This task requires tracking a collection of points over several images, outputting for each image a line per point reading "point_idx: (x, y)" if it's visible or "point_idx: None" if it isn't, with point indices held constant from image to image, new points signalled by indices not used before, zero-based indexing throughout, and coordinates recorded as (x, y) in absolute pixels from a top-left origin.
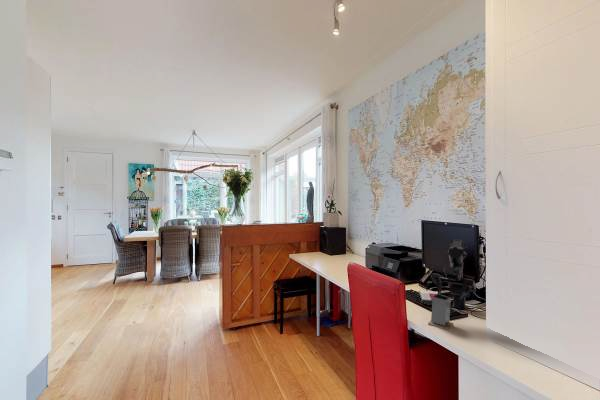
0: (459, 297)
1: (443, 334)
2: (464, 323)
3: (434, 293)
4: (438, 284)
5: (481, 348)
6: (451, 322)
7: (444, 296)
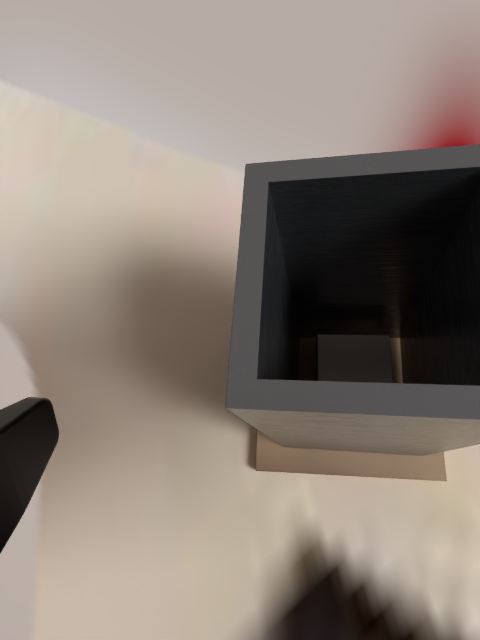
0: (30, 405)
1: None
2: (170, 561)
3: None
4: None
5: (47, 198)
6: (269, 467)
7: (359, 386)
